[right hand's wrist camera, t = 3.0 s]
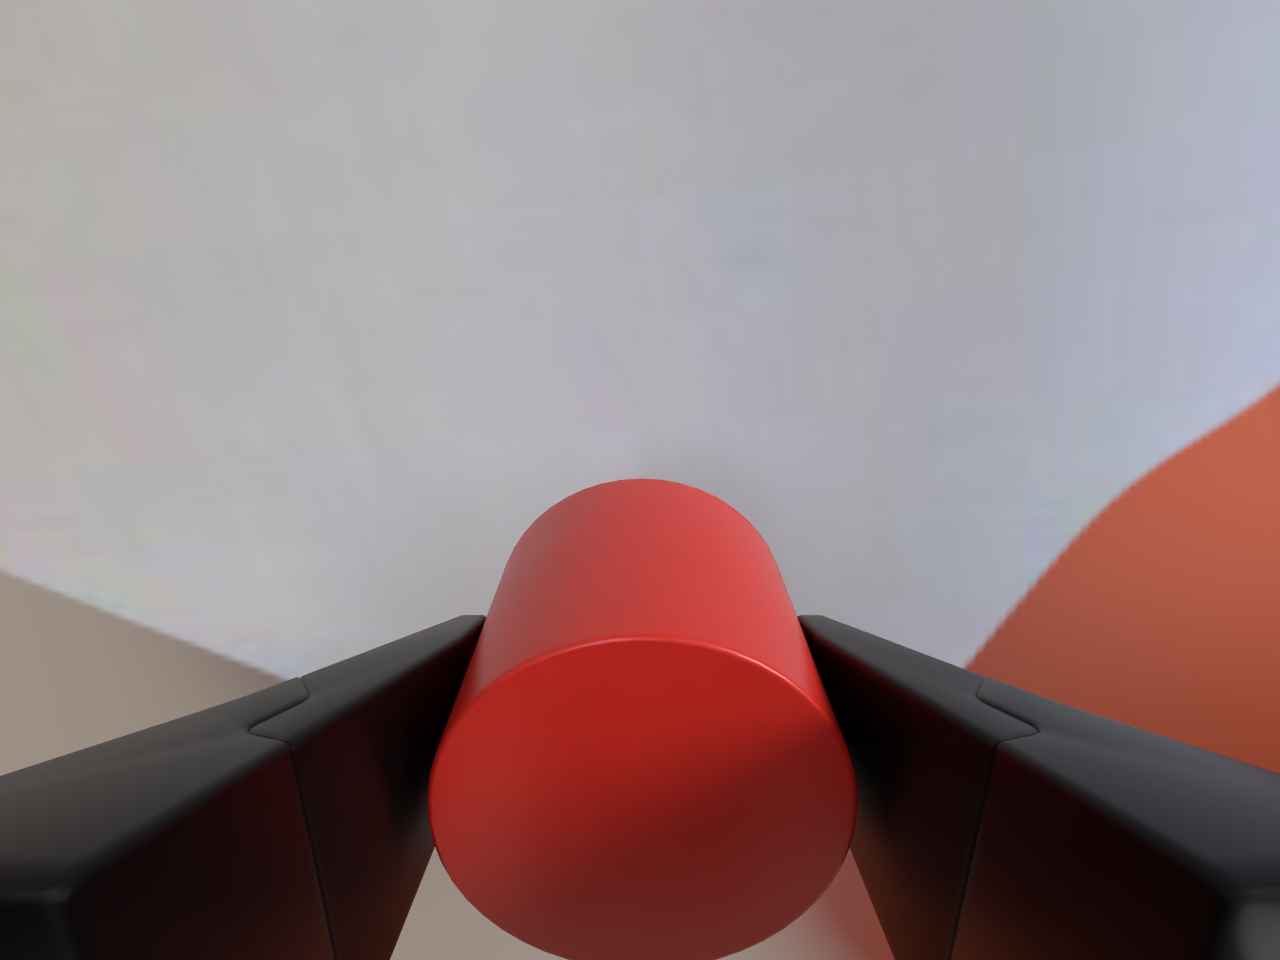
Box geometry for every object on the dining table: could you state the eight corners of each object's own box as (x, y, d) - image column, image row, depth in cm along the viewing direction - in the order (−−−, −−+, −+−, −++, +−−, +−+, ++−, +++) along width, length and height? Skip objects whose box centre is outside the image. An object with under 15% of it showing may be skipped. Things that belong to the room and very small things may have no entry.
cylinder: (754, 736, 13) (809, 988, 9) (492, 709, 13) (420, 953, 9) (809, 496, 12) (909, 664, 7) (509, 460, 11) (430, 610, 7)
